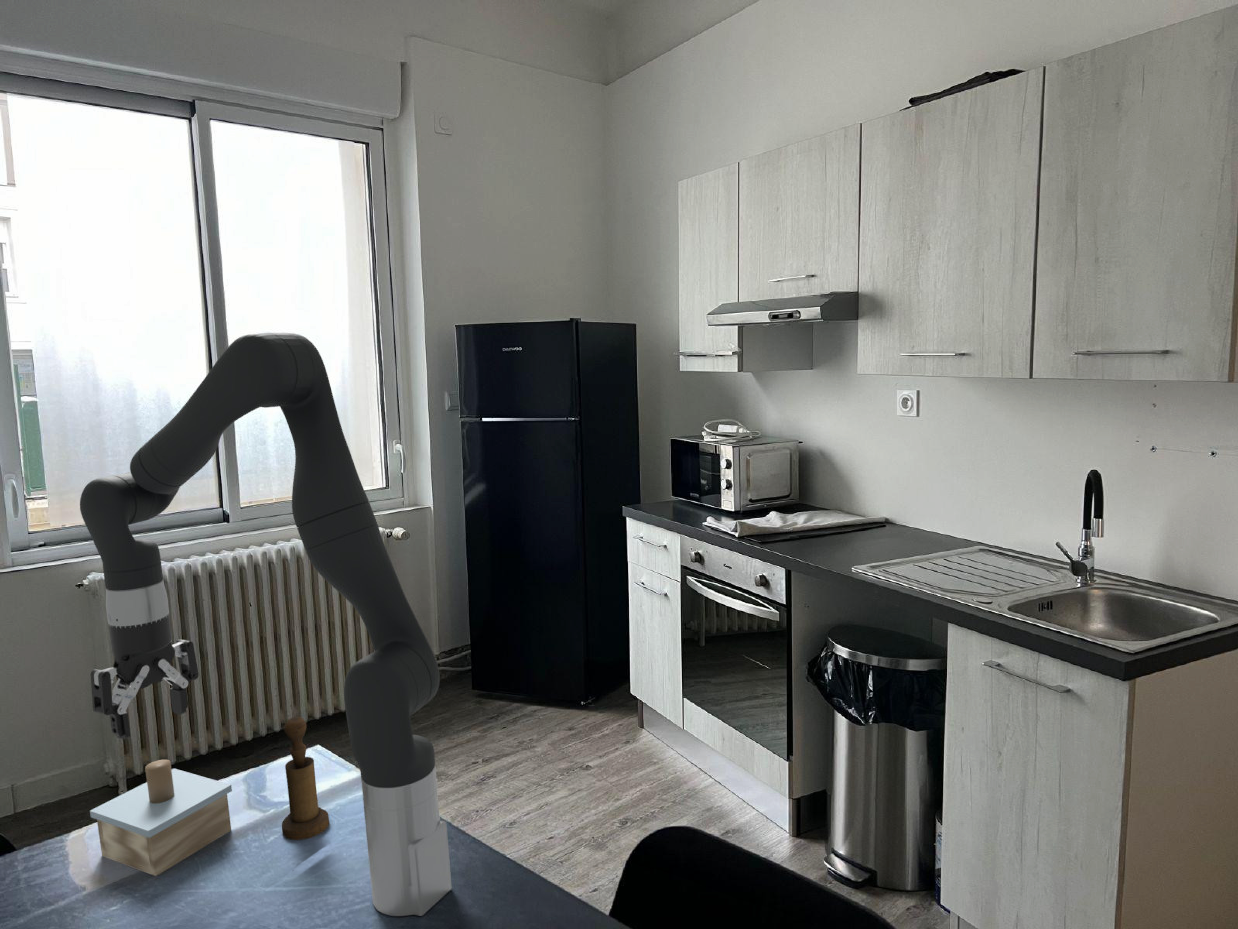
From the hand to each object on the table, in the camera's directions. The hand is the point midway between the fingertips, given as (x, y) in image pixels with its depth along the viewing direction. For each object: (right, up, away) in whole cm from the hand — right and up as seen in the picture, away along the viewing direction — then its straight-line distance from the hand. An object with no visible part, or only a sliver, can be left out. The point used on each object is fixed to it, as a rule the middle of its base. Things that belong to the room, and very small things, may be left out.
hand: (152, 724), depth 122 cm
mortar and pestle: (+20, -18, +5) cm, 27 cm away
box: (+1, -19, +3) cm, 19 cm away
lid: (+1, -12, +2) cm, 12 cm away
